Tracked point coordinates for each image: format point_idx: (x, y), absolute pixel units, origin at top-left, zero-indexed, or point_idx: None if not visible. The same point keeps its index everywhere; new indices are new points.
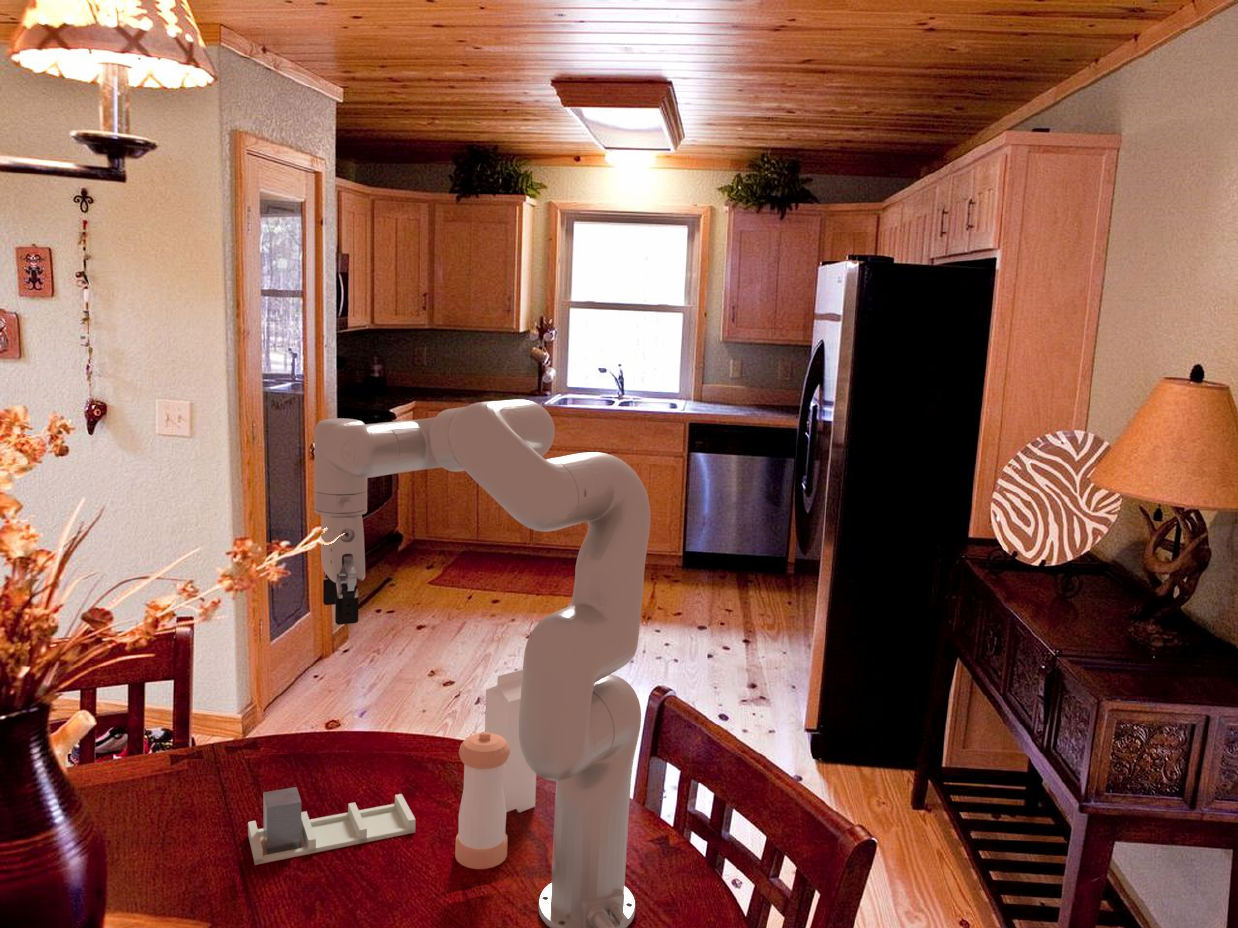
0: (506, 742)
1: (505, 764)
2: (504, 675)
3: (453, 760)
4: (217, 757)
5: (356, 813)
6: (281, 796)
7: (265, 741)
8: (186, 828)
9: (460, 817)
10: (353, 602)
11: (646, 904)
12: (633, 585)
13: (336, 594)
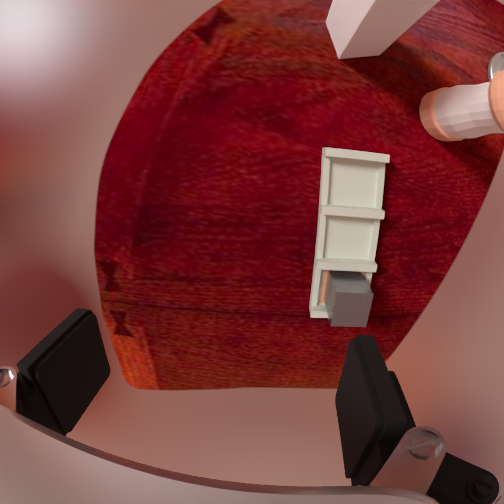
0: None
1: (400, 34)
2: None
3: (218, 54)
4: (126, 301)
5: (348, 212)
6: (349, 310)
7: (101, 253)
8: (259, 346)
9: (469, 137)
10: (412, 422)
11: None
12: None
13: (81, 360)
